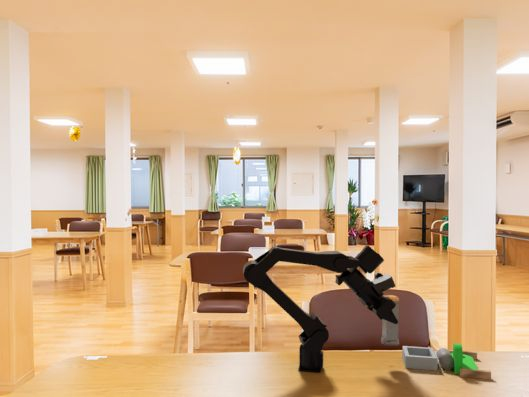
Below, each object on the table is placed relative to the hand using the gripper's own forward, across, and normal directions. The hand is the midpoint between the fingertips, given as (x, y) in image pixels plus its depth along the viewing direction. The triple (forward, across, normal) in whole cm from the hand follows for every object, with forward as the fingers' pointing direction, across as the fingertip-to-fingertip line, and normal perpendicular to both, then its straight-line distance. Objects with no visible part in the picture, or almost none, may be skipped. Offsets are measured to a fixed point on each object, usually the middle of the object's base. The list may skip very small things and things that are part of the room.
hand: (394, 321), depth 135 cm
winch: (+17, 0, +2) cm, 17 cm away
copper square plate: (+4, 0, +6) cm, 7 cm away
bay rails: (+24, -3, -6) cm, 25 cm away
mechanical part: (+24, -3, -5) cm, 24 cm away
